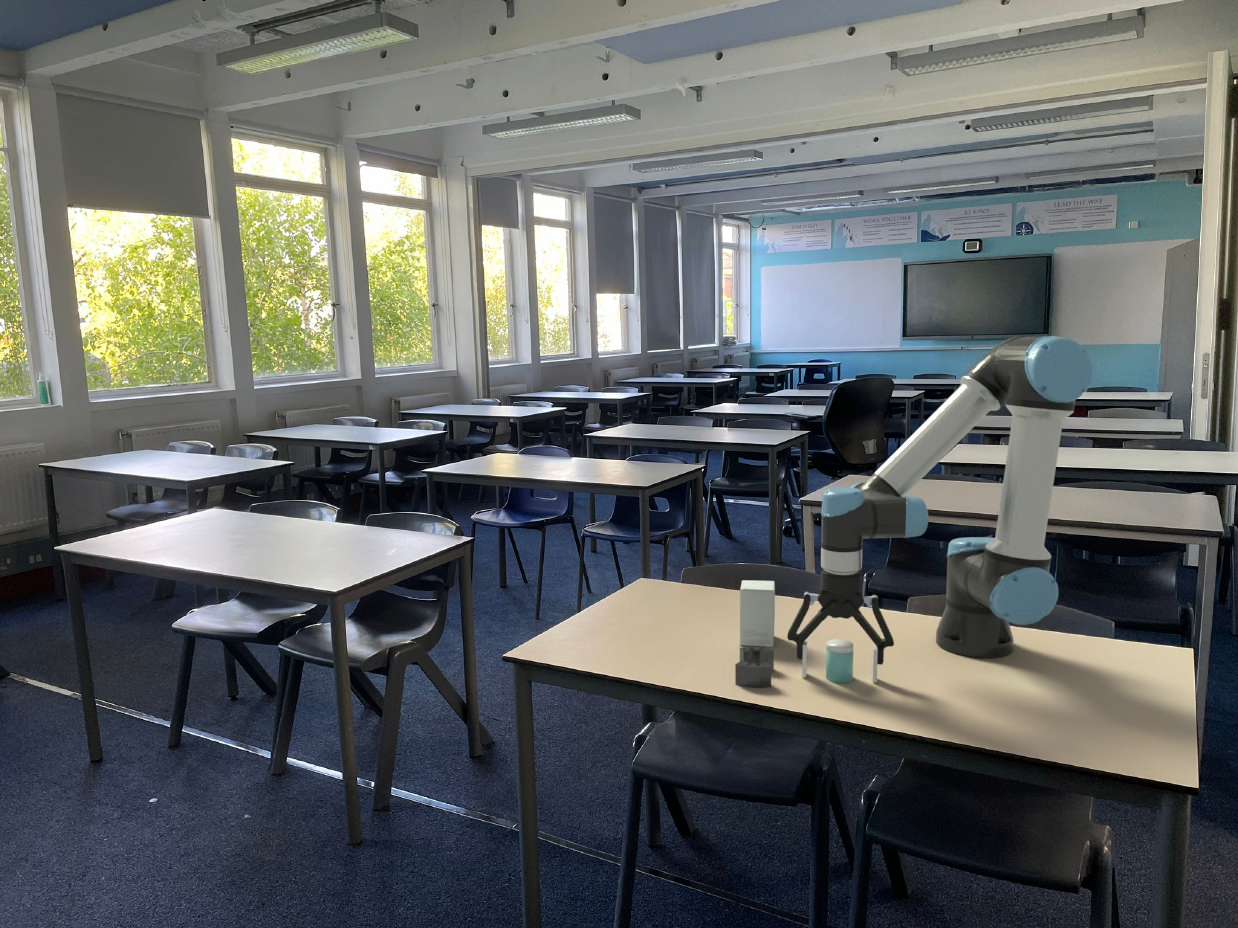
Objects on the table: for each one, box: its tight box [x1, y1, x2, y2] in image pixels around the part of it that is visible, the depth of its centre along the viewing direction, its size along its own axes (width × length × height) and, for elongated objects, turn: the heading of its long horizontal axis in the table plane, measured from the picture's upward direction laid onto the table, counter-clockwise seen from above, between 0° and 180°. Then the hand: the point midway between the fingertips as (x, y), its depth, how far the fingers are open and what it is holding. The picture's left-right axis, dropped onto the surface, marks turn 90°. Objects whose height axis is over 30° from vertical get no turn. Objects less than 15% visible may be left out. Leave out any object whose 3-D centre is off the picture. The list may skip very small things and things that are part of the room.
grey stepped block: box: [734, 646, 775, 689], centre depth 168 cm, size 7×11×4 cm, turn 167°
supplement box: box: [739, 579, 776, 648], centre depth 187 cm, size 7×7×13 cm
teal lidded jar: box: [825, 638, 854, 684], centre depth 166 cm, size 5×5×7 cm
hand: (839, 677), depth 166 cm, fingers open, 12 cm apart
